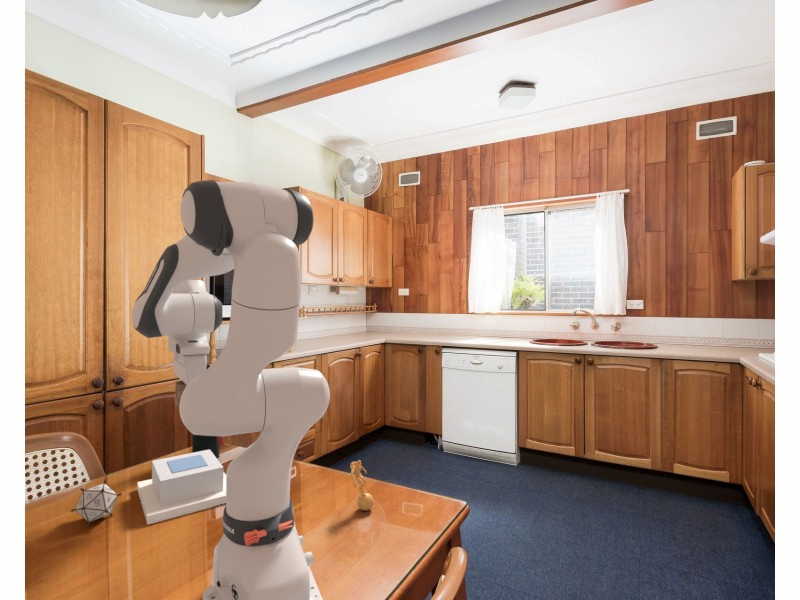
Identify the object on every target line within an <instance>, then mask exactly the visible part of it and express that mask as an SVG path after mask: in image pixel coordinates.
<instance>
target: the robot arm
mask: <svg viewBox="0 0 800 600" xmlns="http://www.w3.org/2000/svg"><path fill="white" fill-rule="evenodd" d="M179 215H180V221H181V223H182V226H183V229H184V233H185V234H186V235H184V236H183V237H182V238H181V239H180V240H178V241H177V242H176V243H172V244H171V245H169V246H167V247H166V248H165V249H164V250H163V253H162V254H161V256H160V257H159V259H158V261H157V262H156V264H155V267H154V268H153V271H152V273H151V274H150V277H149V279H148V281H147V282H146V285H145V286H144V288H143V290H142V292H141V293H140V295H138V297H137V299H136V300H135V302H134V304H133V307H132V312H131V320H132V325H133V328H134V330H135V331H136V332H137V333H139V334H140V335H142V336H144V337H145V338H147V339H151V338H160V337H164V336H165V337H167V339H168V341H167V342H168V343H167V344H168V345H167V346H168V347H167V349H168V350H167V351H168V352H169V353H170V352H172V353H173V362H172V363H173V364H172V365H173V366H172V368H173V369H172V370H173V374H175V376H177V378H179V381H183V382H184V383H185V384H186V388H185V389H184V391H183V393H182V395H181V399H180V404H179V409H178V410H179V416H180V419H181V421H182V424H183V425H184V427H185V428H186V429H187V431H189V432H190V433H191V434H194V435H204V436H221V437H226V436H234V435H236V436H237V435H242V434H250V433H256V432H257V433H258V432H260V434H259V435H258V436H257V438H256V439H255V441H254V442H253V443H252V444H250V445H249V446H247V447H246V448H244V449H242V450H241V451H240V452H238V453H237V454H236V455H235V456H234V457H233V459H232V460H231V461H230V462H229V464H228V467H227V469H226V473H225V474H226V504H225V506H224V508H223V512H222V513H223V515H222V520H221V521H222V531H223V534H222V537H221V538H220V540H219V542H218V543H217V544H216V545H215V547H214V548H213V549H214V550H213V560H212V561H213V563H212V575H211V576H212V579H211V585H209V586H208V588H206V589H205V590H204V592H203V594H202V597H201V598H202V599H201V600H324V599H323V597H322V595H321V592H320V589H319V586H318V584H317V582H316V579H315V577H314V574H313V573H312V570H311V567H312V566H313V565H314V556H313V552H312V551H306V552H305V551H304V550H303V546H302V544H303V543H304V535H302V534H301V535H299V534H298V531H297V528H296V522H295V517H294V515H295V512H294V507H293V502H292V498H290V495H291V493H290V492H291V478H292V476H291V475H292V467H293V461H294V457H295V454H296V451H297V449H298V448H299V445H300V443H301V441H302V440H303V438H304V437H305V435H306V434H307V433H308V431H309V430H310V429H311V428H312V426H314V425H315V424H316V423H317V422H318V421H319V420H321V419H322V417H324V415H325V413H326V412H327V410H328V407H329V406H330V399H331V390H330V386H329V382H328V381H327V379H326V377H325V376H324V375H323V374H322V372H321V371H319V370H318V369H315V368H314V369H313V368H306V367H300V366H299V367H298V366H288V367H286V366H285V367H273V368H267V366H268V365H270V364H271V363H272V362H275V361H276V360H278V359H279V358H282V357H283V356H285V355H286V354H288V352H289V351H290V350H291V349H292V348H293V347H294V345H295V343H296V340H297V338H298V329H299V320H300V309H301V307H300V306H301V297H302V296H301V295H302V270H301V266H302V265H301V258H300V252H299V248H298V246H300V245H303V244H305V243H306V241H307V240H308V239H309V237H310V236H311V234H312V231H313V227H314V220H315V219H314V211H313V207H312V205H311V202H310V201H309V199H308V198H307V196H306V195H305V194H303V193H301V192H300V191H296V190H293V189H289V188H283V189H282V188H278V187H273V186H269V185H262V184H255V183H253V182H247V181H246V182H245V181H215V180H213V179H207V180H206V179H205V180H198V181H193V182H190V183H189V184H188V186H187V187H186V188H185V189H184V191H183V194H182V197H181V201H180V206H179ZM232 270H233V278H232V279H233V280H232V287H231V303H230V304H231V305H230V318H229V325H228V326H229V327H228V332H227V337H226V341H225V344H224V346H223V348H222V350H221V352H220V354H219V355H218V357H217V358H216V359H215V360H214V361H213V363H212V364H210V367H209V368H208V369H207V370H206V365H207V361H208V359H207V358H208V357H207V355H208V354H210V345H209V342H208V334H209V333H214V332H215V331H217V329H218V328H219V327H220V326H221V325H222V323H223V302H221V300H220V299H218V297H217V296H216V295H214V294H210V293H209V292H207V288H206V283H205V281H203V280H202V279H201V278H206V277H214V276H216V277H217V276H220V275H225V274H227V273H229V272H232ZM199 278H200V279H199Z"/></svg>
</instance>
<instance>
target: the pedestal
mask: <svg viewBox="0 0 800 600" xmlns="http://www.w3.org/2000/svg"><path fill="white" fill-rule="evenodd" d="M136 483H137V485H136V486H137V487H136V488H137V494H138V496H139V501H140V500H141V501H140V504H141V508H142V510H143V515H144V518H145V521H146V525H147V526H148V525H151V524H152V525H153V524H155V523H158V522H159V523H160V522H163V521H167V520H170V519H175V518H177V517H181V516H184V515H188V514H192V513H195V512H199V511H200V512H201V511H203V510H207V509H210V508H213V507H214V506H215V507H218V506H221V505H220V504H222V505H224V504H225V503H226V473H225V471H224V466H223V465H222V463H221V462H220V461H219V458H218V459H217V458H216V457H215V455H214V454H213V453H212V452H211V450H210V449H209V450H204V451H199V452H194V453H192V452H190V453H183V454H179V455H175V456H170V457H164V458H159V459H154V460H152V461H151V479H146V480H141V481H137V482H136ZM217 505H218V506H217ZM225 505H226V504H225ZM215 507H214V508H215Z"/></svg>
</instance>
